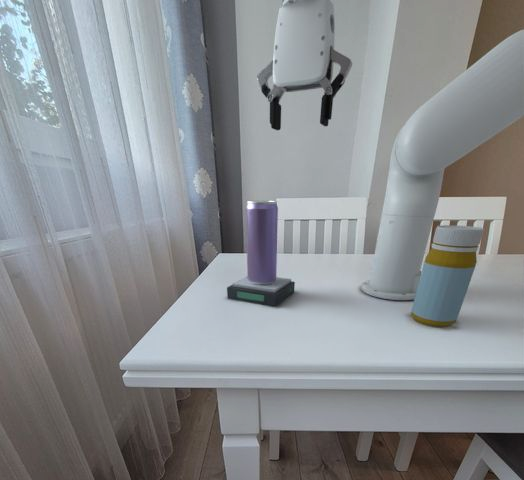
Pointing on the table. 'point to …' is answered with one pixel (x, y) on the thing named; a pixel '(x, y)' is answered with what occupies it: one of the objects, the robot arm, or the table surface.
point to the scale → (261, 291)
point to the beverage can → (261, 241)
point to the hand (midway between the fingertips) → (299, 127)
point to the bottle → (446, 275)
